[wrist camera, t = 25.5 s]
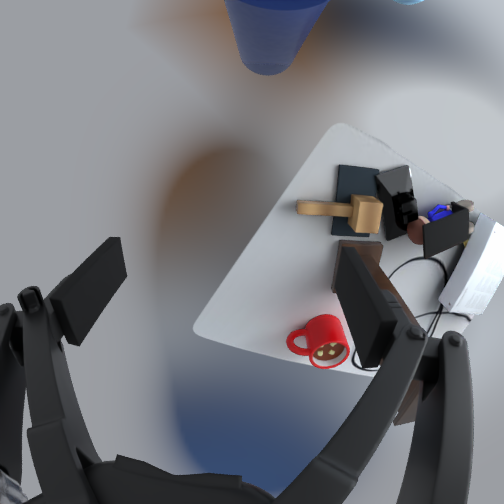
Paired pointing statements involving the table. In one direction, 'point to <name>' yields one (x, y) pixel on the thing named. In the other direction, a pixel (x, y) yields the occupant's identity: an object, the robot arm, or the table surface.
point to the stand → (371, 258)
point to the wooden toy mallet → (348, 211)
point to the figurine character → (442, 228)
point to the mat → (352, 183)
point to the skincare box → (476, 270)
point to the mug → (322, 342)
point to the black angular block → (396, 201)
